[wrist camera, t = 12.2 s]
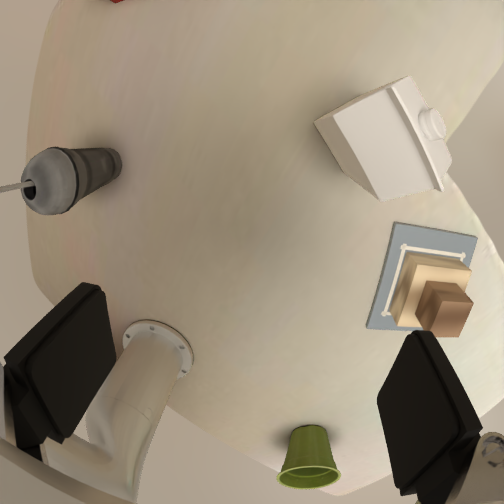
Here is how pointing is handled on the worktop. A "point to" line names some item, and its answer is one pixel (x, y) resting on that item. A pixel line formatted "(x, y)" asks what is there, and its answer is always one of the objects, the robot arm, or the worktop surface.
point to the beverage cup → (65, 177)
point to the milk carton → (389, 141)
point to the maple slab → (423, 283)
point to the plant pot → (308, 460)
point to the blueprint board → (400, 243)
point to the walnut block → (443, 308)
